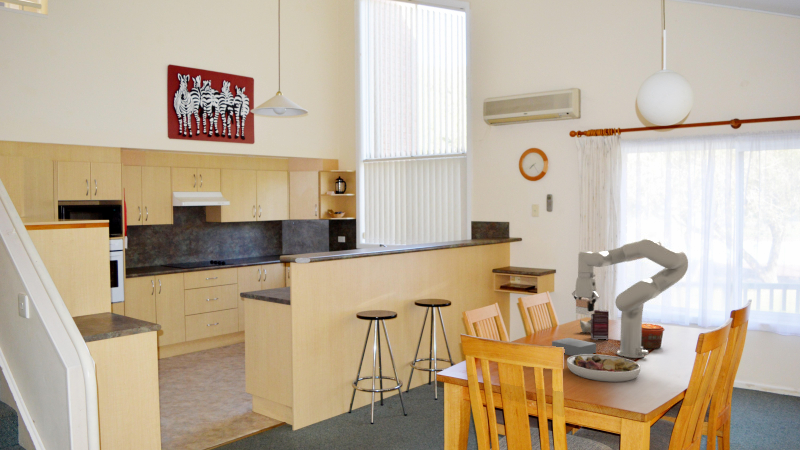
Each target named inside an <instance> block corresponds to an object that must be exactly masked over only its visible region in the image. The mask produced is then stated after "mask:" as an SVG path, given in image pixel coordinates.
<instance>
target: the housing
mask: <svg viewBox="0 0 800 450" xmlns="http://www.w3.org/2000/svg"><path fill="white" fill-rule="evenodd" d="M589 304H590V302H589V299H588V298H582V299H576V300H575V314H578V315H579V314H580V315H586V316H588V315H591V314H594V311H589Z"/></svg>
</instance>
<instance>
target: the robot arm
mask: <svg viewBox="0 0 800 450" xmlns="http://www.w3.org/2000/svg"><path fill="white" fill-rule="evenodd" d="M645 258H646V259H648V260H649V261H652V262H653V263H655V264H657V265H659V266H660V267H663V268H662V269H661V270H660V271H658V272H657V273H655V274H654V275H652V276H651V277H648V278H647V279H642V280H639V281H638V282H636V283H634V284H633V285H631V286H629V287H628V288H627V289H625V290H624V291H622V292H620V293H618V295H617V296H616V298H615V301H614V302H615V303H614V305H615V306H616V308H617V310H618V311H620V312H621V315H620V346H619V347H620V349H618V350H617V351H616V355H618V356H619V357H623V356H624V357H623V358H631V359H638V358H639V359H641V358H644V357H645V356H648V355H649V350H646V349H645V348H643V347H641V334H642V324H643V312H644V304H645V303H647V302H649V301H651V300H652V299H655V298H657V297H658V296H660V294H662V293H664V292H666V290H668V289H669V288H671V287H673V286H674V285H675V284H676V283H677V284H678V282H679V281H681V280H682V279H683V277H684V276H685V275H686V273H687V271H688V268H689V259H688V257H687V255H686V253H684V252H683V251H682V250H680V249H669V248H668V247H665V246H663V245H662V243H661V241H660V240H658V239H657V238H655V237H651V238H649V237H648V238H643V239H642V240H638V241H635V242H631V243H626V244H623V245H622V246H620V247H618V248H617V247H616V248H614V249H610V250H604V251H598V252H597V251H596V252H592V251H579V253H578V259H577V262H578V263H577V264H578V265H577V270H578V271H577V278H576V281H575V290H574V291H573V292H571V295H572V296H573V298H574V299H575V301H576V299H589V302H590V304H589V311H594V310H595V303H596V302H597V301H598V300H599V299H600V296H599V294H598V292H597V283H596V279H595V277H596V274H595V273H594V269H595V268H601V267H607V266H612V265H616V264H621V263H625V262H633V261H636V260H641V259H645ZM594 267H595V268H594Z"/></svg>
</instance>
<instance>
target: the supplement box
mask: <svg viewBox="0 0 800 450" xmlns="http://www.w3.org/2000/svg"><path fill="white" fill-rule="evenodd" d="M609 314H610V313H609V310H607V309H594V314H590V316H591V318H590V320H591V333H590V338H591V339H592V340H598V339H606V340H605V341H608V340H609V329H610V328H609V317H610V316H609ZM598 341H599V340H598Z"/></svg>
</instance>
